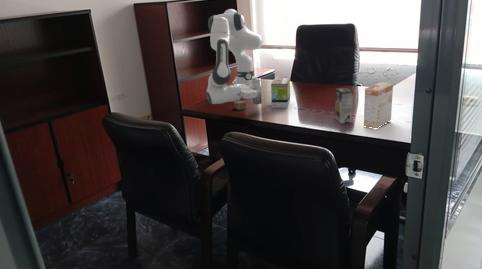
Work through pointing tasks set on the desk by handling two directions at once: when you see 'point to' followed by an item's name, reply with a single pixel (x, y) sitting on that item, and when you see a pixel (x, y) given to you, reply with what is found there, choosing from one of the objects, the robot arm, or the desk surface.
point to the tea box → (280, 92)
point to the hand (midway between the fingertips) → (258, 89)
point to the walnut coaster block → (240, 105)
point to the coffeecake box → (378, 104)
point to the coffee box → (343, 105)
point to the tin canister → (256, 85)
